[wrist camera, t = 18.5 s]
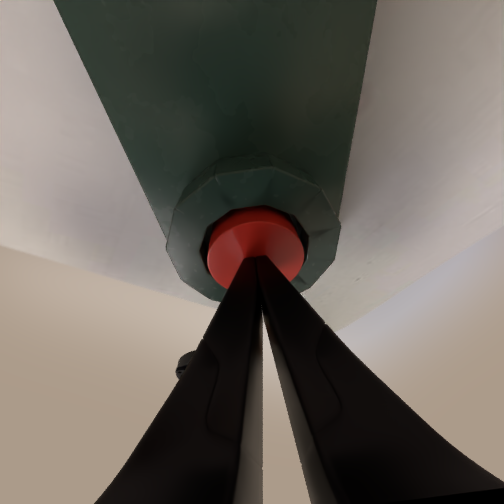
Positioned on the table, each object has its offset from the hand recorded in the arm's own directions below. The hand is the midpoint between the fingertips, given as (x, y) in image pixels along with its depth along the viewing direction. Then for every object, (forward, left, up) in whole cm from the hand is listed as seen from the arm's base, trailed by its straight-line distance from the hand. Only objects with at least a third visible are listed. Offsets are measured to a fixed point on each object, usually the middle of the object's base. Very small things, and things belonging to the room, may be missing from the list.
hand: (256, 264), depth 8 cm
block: (+3, 0, -4) cm, 5 cm away
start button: (0, 0, -2) cm, 2 cm away
